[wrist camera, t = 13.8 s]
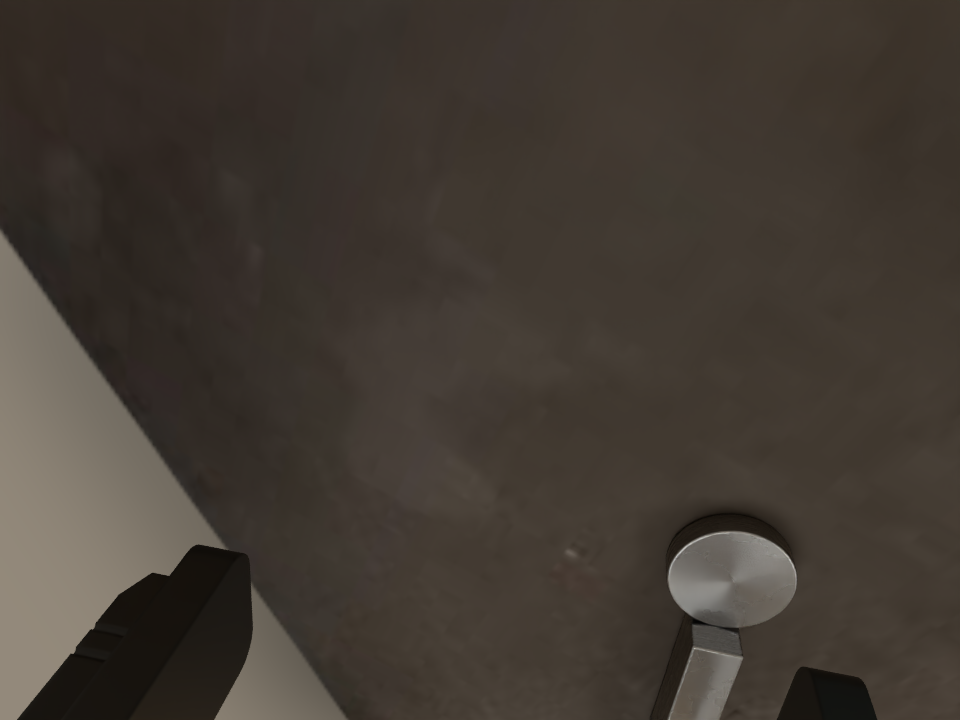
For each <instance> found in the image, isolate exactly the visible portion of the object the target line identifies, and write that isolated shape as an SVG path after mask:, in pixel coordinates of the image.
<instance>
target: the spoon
mask: <svg viewBox="0 0 960 720" xmlns="http://www.w3.org/2000/svg"><path fill="white" fill-rule="evenodd" d="M666 573H667V584H668V588H669V592H670V594H671V596H672V598H673V599H674V601H675V602H676V603H677V605H678V606H679V607H680V608H681V609H682V610H683V611H684V612H686V613H685V616H684V619H683V622H682V625H681V628H680V631H679V634H678V637H677V640H676V643H675V646H674V649H673V652H672V655H671V658H670V661H669V664H668V667H667V671H666V674H665V677H664V680H663V683H662V686H661V689H660V692H659V695H658V698H657V701H656V704H655V707H654V710H653V713H652V716H651V719H650V720H719V718H720V716H721V713H722V711H723V708H724V706H725V703H726V700H727V698H728V695H729V693H730V690H731V688H732V685H733V683H734V680H735V677H736V675H737V672H738V670H739V667H740V665H741V662H742V660H743V653H742V647H741V641H740V635H739V629H738V628H740V627H748V626H753V625H756V624H759V623H763V622H765V621H767V620H769V619H771V618H773V617H774V616H776V615H777V614H779V613H780V612H781V611H782V610H783V609H784V608H785V607H786V606H787V605H788V604H789V602H790V601H791V599H792V598H793V596H794V593H795V590H796V587H797V572H796V568H795V564H794V560H793V557H792V553H791V550H790V548H789V546H788V544H787V542H786V541H785V539H784V538H783V537H782V536H781V535H780V534H779V533H778V532H777V531H776V530H775V529H774V528H772V527H771V526H769V525H768V524H766V523H764V522H762V521H760V520H757V519H754V518H751V517H747V516H743V515H734V514H724V515H715V516H710V517H706V518H703V519H700V520H698V521H695V522H694V523H692V524H690V525H688V526H687V527H685V528H684V529H683V530H682V531H681V532H679V533H678V534H677V536H676V537H675V538H674V539H673V541H672V543H671V544H670V546H669V549H668V551H667V556H666Z"/></svg>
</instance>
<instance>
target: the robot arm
mask: <svg viewBox="0 0 960 720" xmlns="http://www.w3.org/2000/svg"><path fill="white" fill-rule="evenodd" d="M252 631H253V621H252V602H251V581H250V563H249V558H248V556H247V555H246V554H244V553H239V552H234V551H229V550H224V549H219V548H214V547H209V546H204V545H195V546H193V547H192V548H191V549H190V550H189V551H188V552H187V553H186V555H185V556H184V557H183V559H182V560H181V562H180V563H179V564H178V566H177V567H176V568H175V569H174V571H173V572H172V573H171V575H170V576H166V575H161V574H156V573H151V574H150V575H148V576H147V577H145V578H143V579H142V580H141V581H139V582H137V583H136V584H134V585H133V586H131V587H130V588H128V589H127V590H125V591H124V592H122V593H121V594H119V595H118V597H117V598H116V599H115V600H114V602H113V603H112V604H111V605H110V606H109V607H108V609H107V610H106V611H105V612H104V614H103V615H102V616H101V618H100V619H99V620H98V621H97V622H96V624H95V628H94V629H93V630H92V629H91V630H90V631H89V632H88V633H87V635H86V636H85V637H84V638H83V639H82V641H81V642H80V643H79V644H78V645H77V647H76V651H75V653H74V654H70V655H69V657H68V658H67V659H66V660H65V661H64V663H63V664H62V665H61V666H60V668H59V669H58V670H57V671H56V673H55V674H54V675H53V676H52V677H51V679H50V680H49V681H48V682H47V684H46V685H45V686H44V687H43V688H42V690H41V691H40V692H39V693H38V695H37V696H36V697H35V698H34V700H33V701H32V702H31V703H30V704H29V706H28V707H27V708H26V709H25V711H24V712H23V713H22V714H21V715H20V717H19V718H18V719H17V720H214V719H215V717H216V715H217V713H218V712H219V710H220V708H221V706H222V704H223V703H224V701H225V699H226V697H227V695H228V694H229V692H230V690H231V688H232V686H233V684H234V683H235V681H236V679H237V677H238V675H239V674H240V672H241V670H242V668H243V665H244V663H245V661H246V658H247V655H248V652H249V648H250V644H251V639H252ZM777 720H877V717H876V714H875V711H874V708H873V705H872V702H871V699H870V696H869V693H868V690H867V688H866V686H865V684H864V682H863V681H862V680H861V679H860V678H858V677H854V676H849V675H844V674H839V673H834V672H828V671H823V670H818V669H813V668H808V667H800V668H799V669H798V671H797V672H796V674H795V676H794V679H793V681H792V684H791V686H790V689H789V691H788V694H787V696H786V699H785V701H784V704H783V706H782V708H781V711H780V713H779V716H778V718H777Z"/></svg>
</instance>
